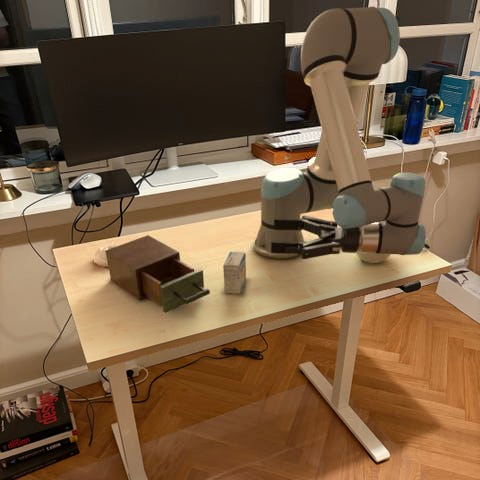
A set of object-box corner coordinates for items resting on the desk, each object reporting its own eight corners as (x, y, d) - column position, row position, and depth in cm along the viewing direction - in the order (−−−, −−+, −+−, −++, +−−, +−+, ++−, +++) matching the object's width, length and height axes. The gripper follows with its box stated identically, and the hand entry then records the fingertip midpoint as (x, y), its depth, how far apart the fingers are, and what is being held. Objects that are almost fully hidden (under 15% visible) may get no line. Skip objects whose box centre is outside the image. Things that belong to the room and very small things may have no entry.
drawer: (219, 303, 124) (218, 278, 120) (179, 323, 117) (177, 297, 113) (173, 276, 136) (171, 252, 132) (135, 292, 129) (131, 268, 125)
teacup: (365, 269, 140) (369, 244, 135) (345, 253, 148) (348, 229, 143) (406, 260, 144) (411, 236, 139) (384, 245, 152) (388, 221, 147)
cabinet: (182, 282, 135) (179, 252, 130) (140, 301, 128) (135, 269, 122) (151, 263, 144) (148, 235, 139) (110, 280, 137) (105, 250, 131)
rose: (102, 237, 149) (130, 241, 147) (104, 250, 152) (133, 254, 149) (84, 252, 141) (115, 256, 139) (87, 265, 144) (117, 269, 141)
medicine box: (240, 294, 129) (240, 266, 124) (224, 293, 130) (223, 264, 125) (246, 280, 136) (245, 252, 131) (230, 278, 137) (229, 250, 132)
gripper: (361, 275, 113) (269, 272, 115) (352, 230, 133) (274, 228, 135) (365, 246, 109) (270, 243, 111) (355, 204, 129) (275, 202, 131)
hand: (272, 235), depth 123 cm, fingers open, 13 cm apart
